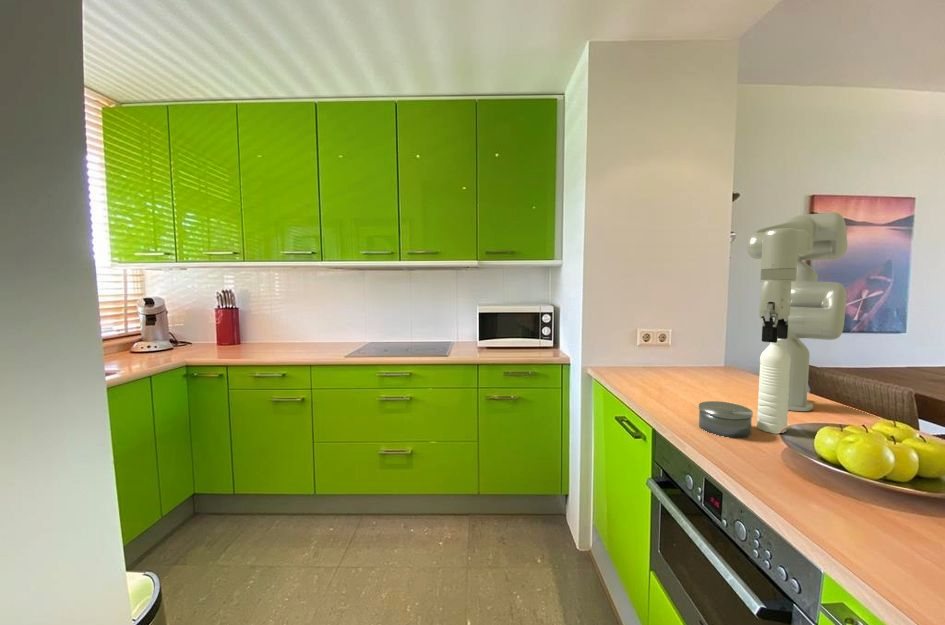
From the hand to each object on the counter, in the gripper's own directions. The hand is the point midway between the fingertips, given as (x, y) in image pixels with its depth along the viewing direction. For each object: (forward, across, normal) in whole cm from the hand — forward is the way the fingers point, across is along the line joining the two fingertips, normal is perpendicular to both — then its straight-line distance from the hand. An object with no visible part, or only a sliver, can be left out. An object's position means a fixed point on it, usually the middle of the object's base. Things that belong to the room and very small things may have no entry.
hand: (774, 340), depth 104 cm
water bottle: (+25, -1, 0) cm, 25 cm away
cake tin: (+25, +9, -8) cm, 28 cm away
